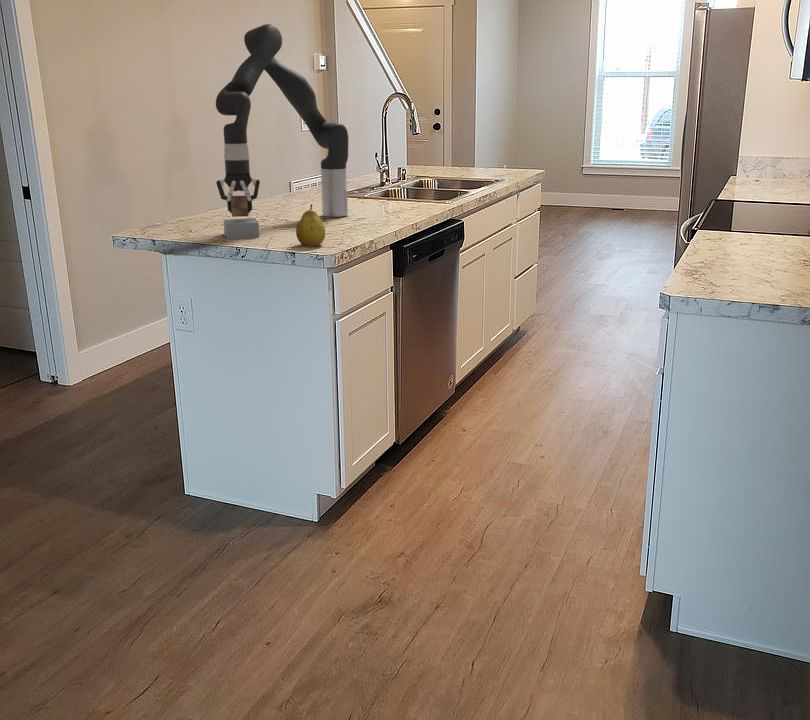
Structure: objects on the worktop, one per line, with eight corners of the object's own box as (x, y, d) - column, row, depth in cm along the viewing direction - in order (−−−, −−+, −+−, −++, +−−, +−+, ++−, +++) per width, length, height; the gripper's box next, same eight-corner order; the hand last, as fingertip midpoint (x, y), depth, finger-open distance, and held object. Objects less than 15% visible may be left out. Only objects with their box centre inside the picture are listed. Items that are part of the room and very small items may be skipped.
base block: (255, 233, 277) (254, 218, 275) (259, 238, 268) (258, 222, 266) (224, 234, 274) (223, 219, 273) (227, 239, 265) (226, 223, 264)
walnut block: (248, 214, 272) (247, 195, 270) (248, 216, 267) (246, 197, 265) (233, 214, 271) (231, 195, 269) (232, 216, 266) (230, 197, 264)
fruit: (310, 249, 248) (309, 208, 244) (290, 245, 254) (288, 205, 250) (332, 245, 254) (330, 205, 250) (311, 241, 260) (310, 202, 256)
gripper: (260, 157, 268) (263, 210, 273) (214, 157, 266) (218, 211, 271) (259, 158, 261) (262, 213, 266) (212, 159, 259) (216, 214, 264)
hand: (240, 212), depth 269 cm, fingers closed on walnut block, 5 cm apart
